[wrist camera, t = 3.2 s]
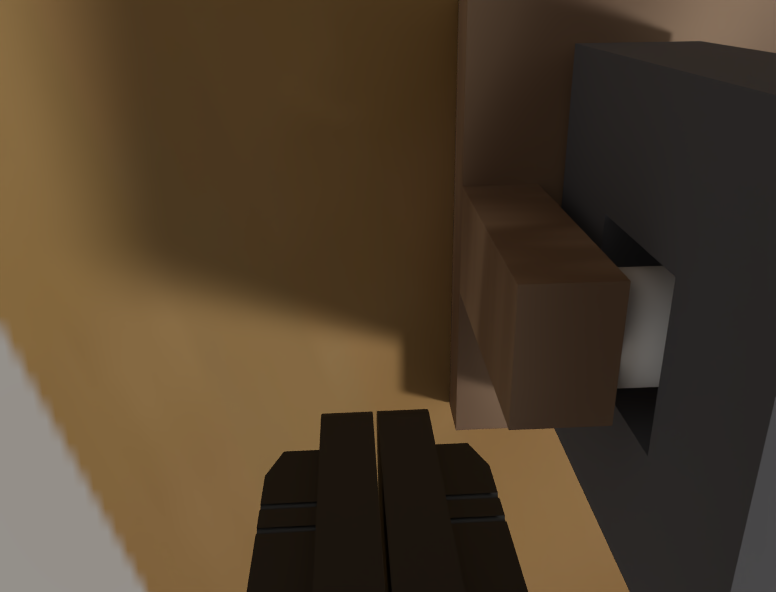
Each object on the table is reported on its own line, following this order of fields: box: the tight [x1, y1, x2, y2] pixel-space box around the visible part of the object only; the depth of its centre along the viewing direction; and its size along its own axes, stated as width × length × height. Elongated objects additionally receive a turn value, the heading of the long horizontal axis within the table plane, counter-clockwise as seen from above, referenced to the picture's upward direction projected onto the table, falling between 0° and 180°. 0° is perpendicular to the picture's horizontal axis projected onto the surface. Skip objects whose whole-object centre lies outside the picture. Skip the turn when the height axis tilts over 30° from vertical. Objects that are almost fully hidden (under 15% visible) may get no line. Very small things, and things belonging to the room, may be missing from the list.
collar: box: [554, 41, 776, 592], centre depth 14 cm, size 3×10×10 cm, turn 1°
